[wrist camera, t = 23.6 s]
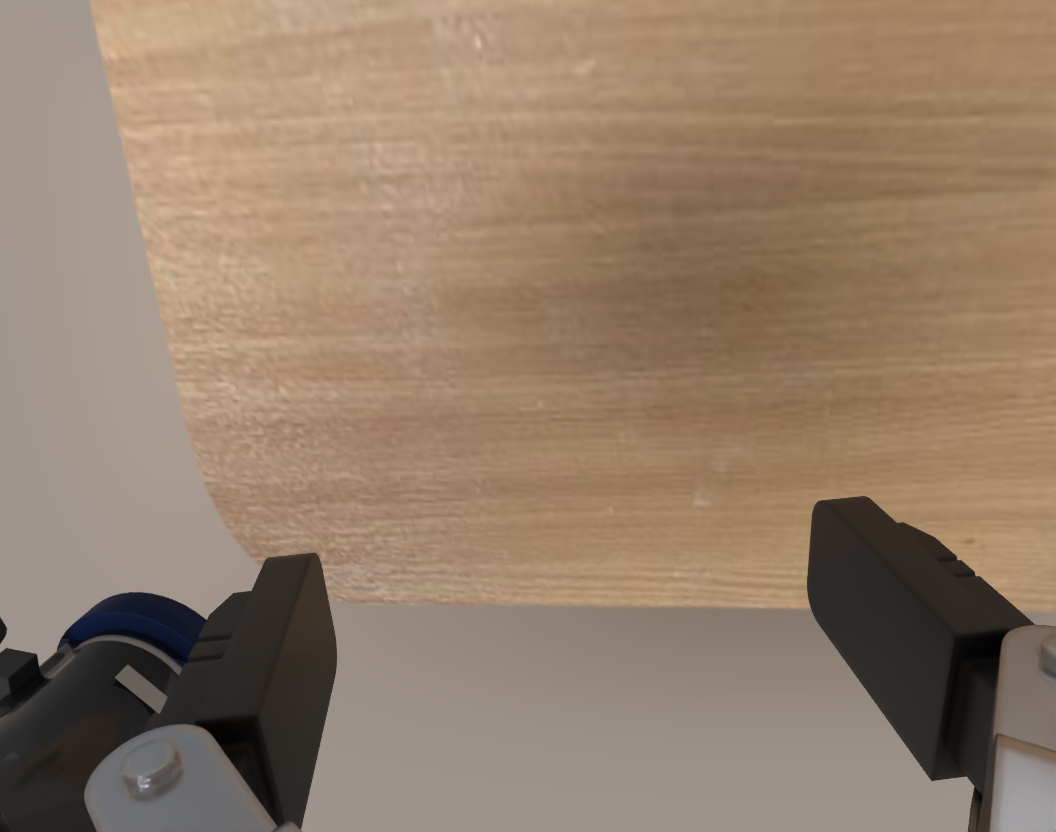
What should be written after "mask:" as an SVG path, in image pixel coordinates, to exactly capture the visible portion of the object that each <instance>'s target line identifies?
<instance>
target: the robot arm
mask: <svg viewBox="0 0 1056 832" xmlns="http://www.w3.org/2000/svg"><path fill="white" fill-rule="evenodd" d="M807 591H808V598H809V603H810V606H811V609H812V612H813V615H814V617H815V619H816V621H817V622H818V624H819V625H820V627H821V628H822V629H823V631H824V632H825V633H826V635H827V636H828V638H829V639H830V640H831V642H832V643H833V644H834V646H835V647H836V649H837V650H838V651H839V653H840V654H841V656H842V657H843V658H844V660H845V661H846V663H847V664H848V665H849V667H850V668H851V669H852V671H853V672H854V674H855V675H856V677H857V678H858V679H859V681H860V682H861V684H862V685H863V686H864V688H865V689H866V690H867V692H868V693H869V695H870V696H871V697H872V699H873V700H874V702H875V703H876V704H877V705H878V707H879V709H880V710H881V711H882V713H883V714H884V715H885V717H886V718H887V720H888V721H889V722H890V724H891V725H892V726H893V728H894V729H895V731H896V732H897V734H898V735H899V736H900V738H901V739H902V740H903V742H904V743H905V745H906V746H907V747H908V749H909V750H910V752H911V753H912V754H913V756H914V757H915V759H916V760H917V761H918V763H919V764H920V765H921V767H922V768H923V770H924V771H925V772H926V774H927V775H928V777H929V778H930V779H931V781H934V780H942V779H950V778H958V777H966V776H967V777H968V779H969V780H970V781H971V782H972V784H973V785H974V786H975V787H974V792H973V797H972V803H971V809H970V819H969V827H968V832H1056V626H1047V625H1035V624H1034V623H1033V622H1031V621H1030V620H1029V619H1028V618H1027V617H1026V616H1025V615H1023V614H1022V613H1021V612H1020V611H1019V610H1018V609H1017V608H1016V607H1014V606H1013V605H1012V604H1011V603H1010V602H1009V601H1007V600H1006V599H1005V598H1004V597H1003V596H1002V595H1001V594H999V593H998V592H997V591H996V590H995V589H994V588H993V587H991V586H990V585H989V584H988V583H987V582H986V581H984V580H983V579H982V578H981V577H980V576H975V572H974V571H973V570H972V569H971V568H970V567H968V566H967V565H966V564H965V563H964V562H963V561H961V560H957V556H956V555H955V554H953V553H952V552H951V551H950V550H949V549H948V548H946V547H945V546H944V545H943V544H942V543H941V542H940V541H938V540H937V539H936V538H935V537H933V536H931V535H929V534H927V533H925V532H923V531H920V530H918V529H916V528H914V527H912V526H910V525H908V524H906V523H904V522H902V523H896V522H895V521H894V520H893V519H892V518H891V517H890V516H889V515H888V514H886V513H885V512H884V511H883V510H882V509H881V508H880V507H879V506H878V505H877V504H875V503H874V502H873V501H872V500H871V499H870V498H868V497H866V496H860V497H850V498H841V499H831V500H822V501H818V502H817V503H816V504H815V506H814V509H813V513H812V523H811V537H810V550H809V564H808V577H807ZM6 631H7V628H6V625H5V624H4V622H3V620H2V619H1V617H0V643H1V642H2V640H3V639H4V637H5V635H6V633H7V632H6ZM336 666H337V648H336V637H335V631H334V626H333V621H332V616H331V611H330V606H329V600H328V595H327V590H326V585H325V580H324V575H323V570H322V565H321V562H320V559H319V556H318V555H317V554H316V553H306V554H297V555H287V556H278V557H269V558H267V559H266V560H265V562H264V564H263V566H262V569H261V571H260V573H259V575H258V578H257V580H256V582H255V584H254V587H253V589H252V591H248V592H239V593H233V594H232V595H231V596H230V597H229V598H228V599H227V600H225V602H223V603H222V604H221V605H220V606H219V607H218V608H217V609H216V610H214V611H213V612H212V613H211V614H210V615H209V617H208V619H207V621H206V623H205V625H204V627H203V629H202V631H201V633H200V635H199V637H198V643H195V645H194V647H193V649H192V651H191V653H190V655H189V657H188V663H187V662H186V661H185V660H184V659H183V658H182V657H181V656H180V655H179V654H178V653H177V652H175V651H174V650H173V649H171V648H170V647H169V646H167V645H166V644H164V643H162V642H161V641H159V640H157V639H155V638H153V637H150V636H148V635H145V634H142V633H139V632H135V631H130V630H120V629H116V630H106V631H102V632H99V633H96V634H94V635H92V636H90V637H89V638H87V639H86V640H85V641H79V640H74V639H71V640H69V641H68V642H67V643H66V644H65V645H64V646H63V647H61V648H60V649H59V650H58V651H57V652H56V653H54V654H53V655H52V656H51V657H50V658H49V659H47V660H46V661H45V662H44V663H43V664H42V665H41V666H39V664H38V658H37V654H34V653H29V652H24V651H19V650H14V649H8V648H6V649H5V650H3V651H2V652H1V653H0V832H302V831H301V827H302V823H303V818H304V814H305V809H306V805H307V800H308V796H309V791H310V787H311V783H312V778H313V774H314V769H315V765H316V760H317V756H318V751H319V747H320V742H321V737H322V733H323V728H324V724H325V720H326V715H327V711H328V706H329V701H330V697H331V693H332V688H333V684H334V679H335V674H336Z"/></svg>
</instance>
